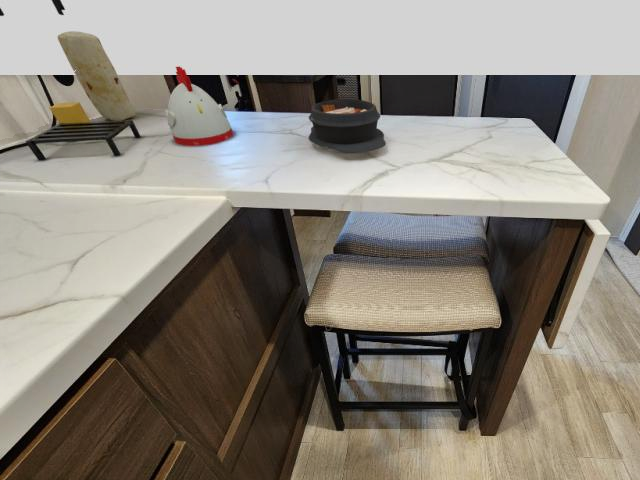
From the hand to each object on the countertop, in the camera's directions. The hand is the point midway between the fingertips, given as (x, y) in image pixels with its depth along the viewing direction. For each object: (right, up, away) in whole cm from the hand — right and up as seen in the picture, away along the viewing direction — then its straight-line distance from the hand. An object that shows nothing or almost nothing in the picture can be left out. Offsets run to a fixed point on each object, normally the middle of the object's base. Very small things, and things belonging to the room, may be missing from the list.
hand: (33, 15), depth 69 cm
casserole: (+64, -21, +14) cm, 69 cm away
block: (-5, -17, +16) cm, 24 cm away
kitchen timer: (+27, -18, +16) cm, 36 cm away
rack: (+4, -24, +10) cm, 26 cm away
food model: (-5, -7, +28) cm, 29 cm away
